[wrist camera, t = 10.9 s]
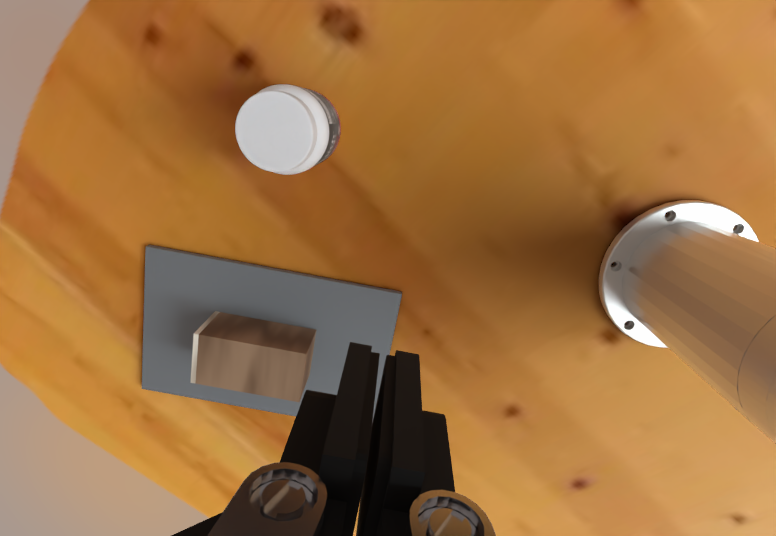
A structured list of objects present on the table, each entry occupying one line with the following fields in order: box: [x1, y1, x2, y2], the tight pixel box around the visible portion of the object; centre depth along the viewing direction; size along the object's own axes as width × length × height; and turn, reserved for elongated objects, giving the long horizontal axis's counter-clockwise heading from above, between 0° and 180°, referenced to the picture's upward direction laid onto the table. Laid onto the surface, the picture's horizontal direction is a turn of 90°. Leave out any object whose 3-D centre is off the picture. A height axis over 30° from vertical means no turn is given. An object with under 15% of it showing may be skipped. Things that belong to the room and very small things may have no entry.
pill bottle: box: [235, 84, 341, 175], centre depth 33 cm, size 6×6×10 cm
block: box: [191, 311, 316, 402], centre depth 41 cm, size 4×4×9 cm
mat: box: [142, 245, 402, 423], centre depth 43 cm, size 22×14×1 cm, turn 79°
